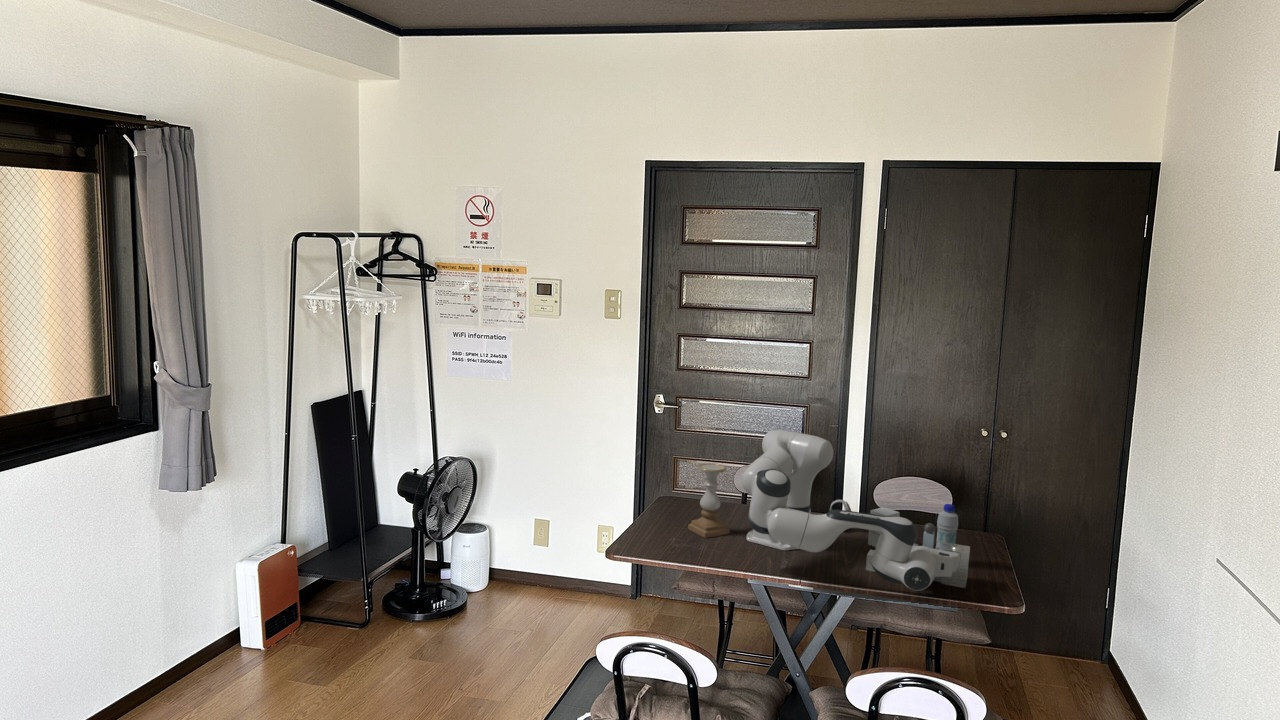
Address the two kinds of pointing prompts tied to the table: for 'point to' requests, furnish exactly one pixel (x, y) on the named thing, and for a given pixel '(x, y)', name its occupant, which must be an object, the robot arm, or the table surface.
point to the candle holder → (709, 505)
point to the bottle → (946, 526)
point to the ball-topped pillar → (929, 536)
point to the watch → (843, 505)
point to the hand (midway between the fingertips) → (927, 548)
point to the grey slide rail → (957, 577)
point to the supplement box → (875, 535)
